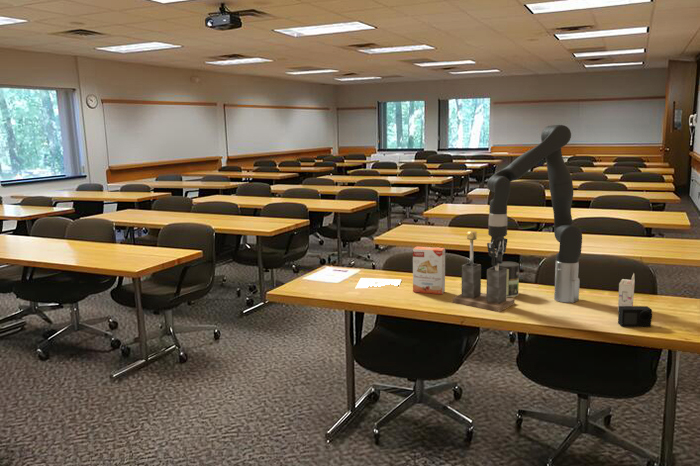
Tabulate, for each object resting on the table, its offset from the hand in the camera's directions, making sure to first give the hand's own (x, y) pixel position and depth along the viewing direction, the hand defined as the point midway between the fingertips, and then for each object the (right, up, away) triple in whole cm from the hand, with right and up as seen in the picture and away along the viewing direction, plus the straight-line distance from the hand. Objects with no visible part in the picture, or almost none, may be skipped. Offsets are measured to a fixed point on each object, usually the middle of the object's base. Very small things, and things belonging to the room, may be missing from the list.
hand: (496, 264), depth 237 cm
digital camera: (+45, -22, -25) cm, 56 cm away
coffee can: (+9, -15, +19) cm, 26 cm away
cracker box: (-25, -14, +26) cm, 39 cm away
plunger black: (0, -14, +3) cm, 14 cm away
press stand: (-4, -17, +7) cm, 19 cm away
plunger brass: (-9, -5, +9) cm, 13 cm away
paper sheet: (-49, -14, +36) cm, 62 cm away
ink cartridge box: (+51, -18, -6) cm, 54 cm away
